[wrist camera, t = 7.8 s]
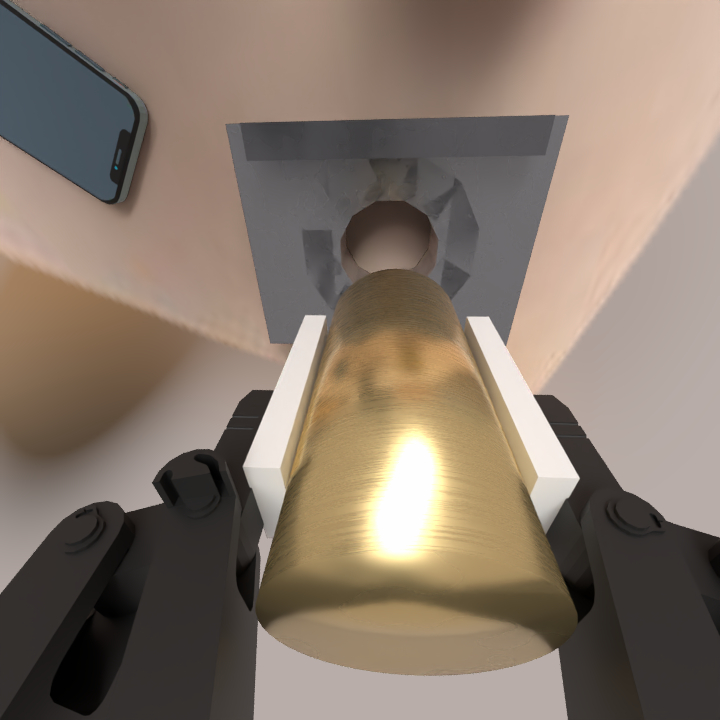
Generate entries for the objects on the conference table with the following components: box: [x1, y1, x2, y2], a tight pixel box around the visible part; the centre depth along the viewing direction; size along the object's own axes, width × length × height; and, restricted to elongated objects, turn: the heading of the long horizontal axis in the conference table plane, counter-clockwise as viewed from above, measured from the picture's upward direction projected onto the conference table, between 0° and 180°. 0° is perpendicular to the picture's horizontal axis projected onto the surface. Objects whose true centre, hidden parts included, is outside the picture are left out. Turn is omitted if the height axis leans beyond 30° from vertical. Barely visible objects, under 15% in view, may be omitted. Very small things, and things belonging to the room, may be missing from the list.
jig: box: [226, 115, 569, 346], centre depth 22 cm, size 18×14×6 cm
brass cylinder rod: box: [255, 269, 578, 676], centre depth 10 cm, size 5×5×10 cm
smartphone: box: [0, 0, 148, 204], centre depth 21 cm, size 8×2×15 cm
